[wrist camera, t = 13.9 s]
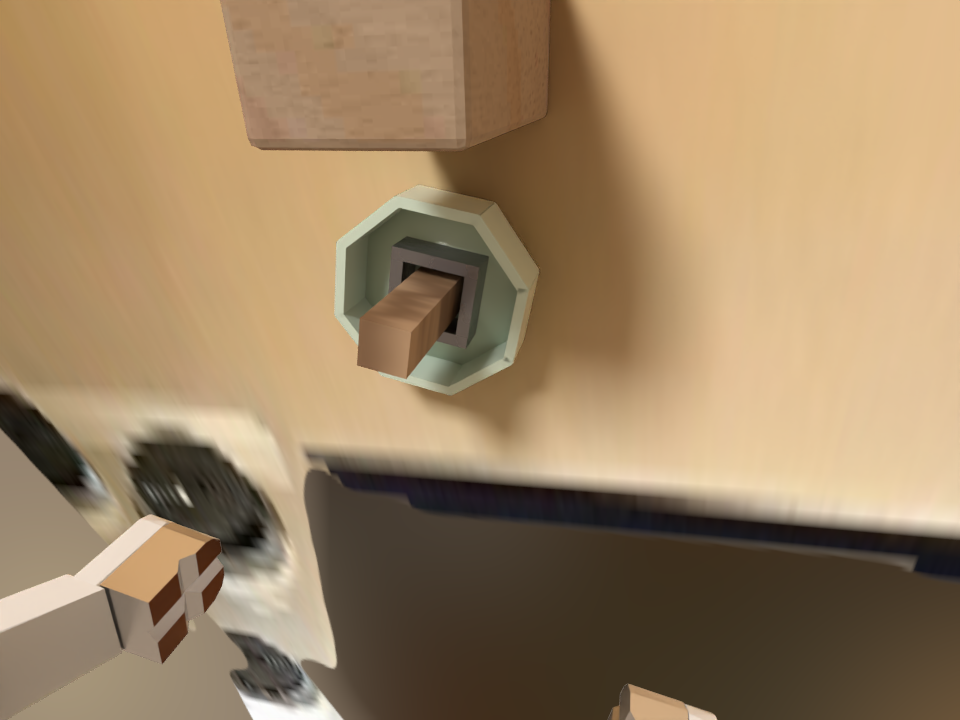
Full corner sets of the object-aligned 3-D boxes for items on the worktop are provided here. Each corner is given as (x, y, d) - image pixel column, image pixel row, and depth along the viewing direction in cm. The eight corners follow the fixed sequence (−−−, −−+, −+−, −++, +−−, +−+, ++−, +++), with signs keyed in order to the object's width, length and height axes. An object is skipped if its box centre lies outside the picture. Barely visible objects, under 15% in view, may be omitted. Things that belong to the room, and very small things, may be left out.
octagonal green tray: (552, 214, 41) (542, 229, 37) (514, 383, 48) (502, 410, 45) (366, 172, 43) (338, 182, 39) (357, 339, 51) (333, 361, 47)
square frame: (489, 256, 43) (479, 267, 41) (475, 334, 47) (465, 348, 44) (406, 236, 44) (392, 245, 42) (399, 313, 48) (385, 327, 45)
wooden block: (548, 118, 38) (469, 152, 21) (414, 119, 41) (245, 151, 23) (553, -59, 34) (458, -200, 16) (402, -46, 36) (182, -157, 19)
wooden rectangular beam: (465, 272, 44) (411, 332, 34) (459, 311, 46) (406, 379, 36) (424, 262, 45) (359, 318, 35) (420, 301, 47) (357, 365, 36)
